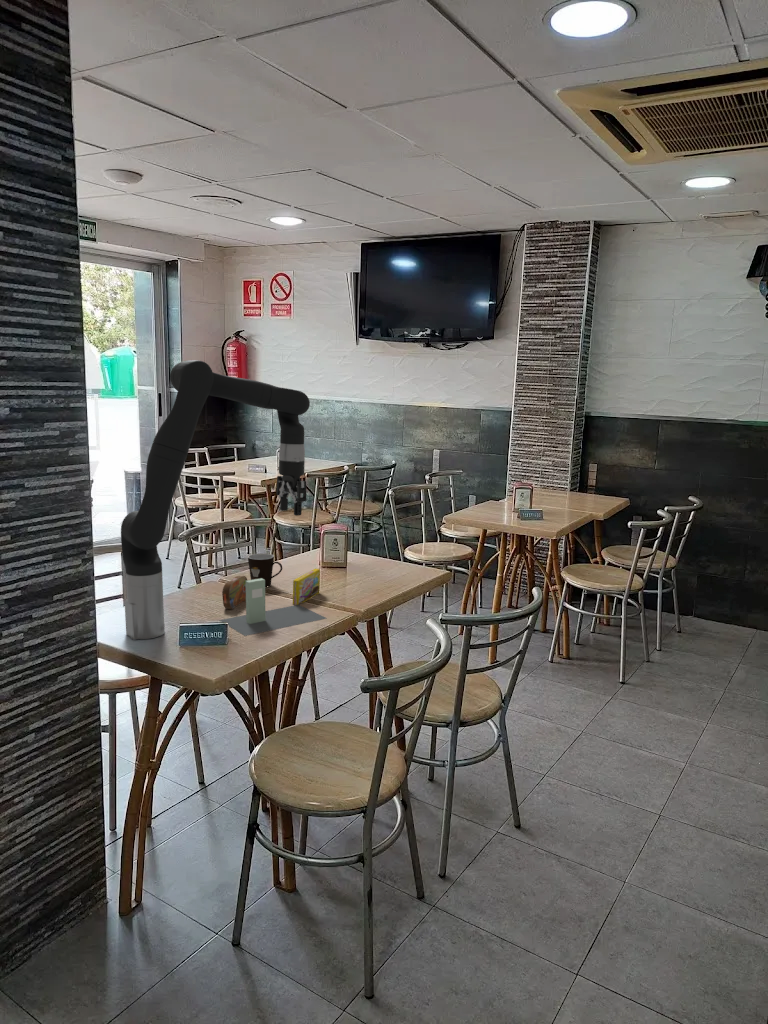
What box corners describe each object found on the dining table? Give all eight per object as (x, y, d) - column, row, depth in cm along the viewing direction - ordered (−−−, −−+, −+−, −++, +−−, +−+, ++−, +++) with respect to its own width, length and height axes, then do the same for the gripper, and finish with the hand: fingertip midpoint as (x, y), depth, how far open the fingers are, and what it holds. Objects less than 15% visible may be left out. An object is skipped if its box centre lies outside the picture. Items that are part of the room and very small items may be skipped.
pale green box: (249, 624, 204) (249, 582, 202) (246, 622, 205) (245, 580, 203) (265, 620, 207) (265, 579, 205) (262, 618, 208) (261, 578, 206)
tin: (230, 613, 215) (230, 585, 214) (220, 612, 216) (220, 585, 214) (250, 599, 230) (249, 573, 228) (240, 598, 230) (240, 572, 229)
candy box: (298, 607, 222) (298, 580, 221) (292, 606, 223) (291, 580, 221) (320, 593, 237) (320, 568, 236) (314, 592, 238) (314, 567, 237)
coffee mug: (243, 585, 245) (242, 556, 244) (264, 580, 251) (264, 552, 249) (262, 592, 237) (262, 562, 235) (284, 587, 243) (284, 558, 241)
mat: (244, 638, 194) (244, 635, 194) (219, 622, 207) (219, 620, 207) (327, 620, 210) (327, 618, 210) (298, 606, 222) (298, 604, 222)
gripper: (269, 456, 219) (268, 509, 222) (292, 461, 208) (290, 517, 210) (291, 456, 223) (290, 508, 226) (315, 461, 212) (313, 516, 215)
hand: (290, 512), depth 218 cm, fingers open, 8 cm apart
